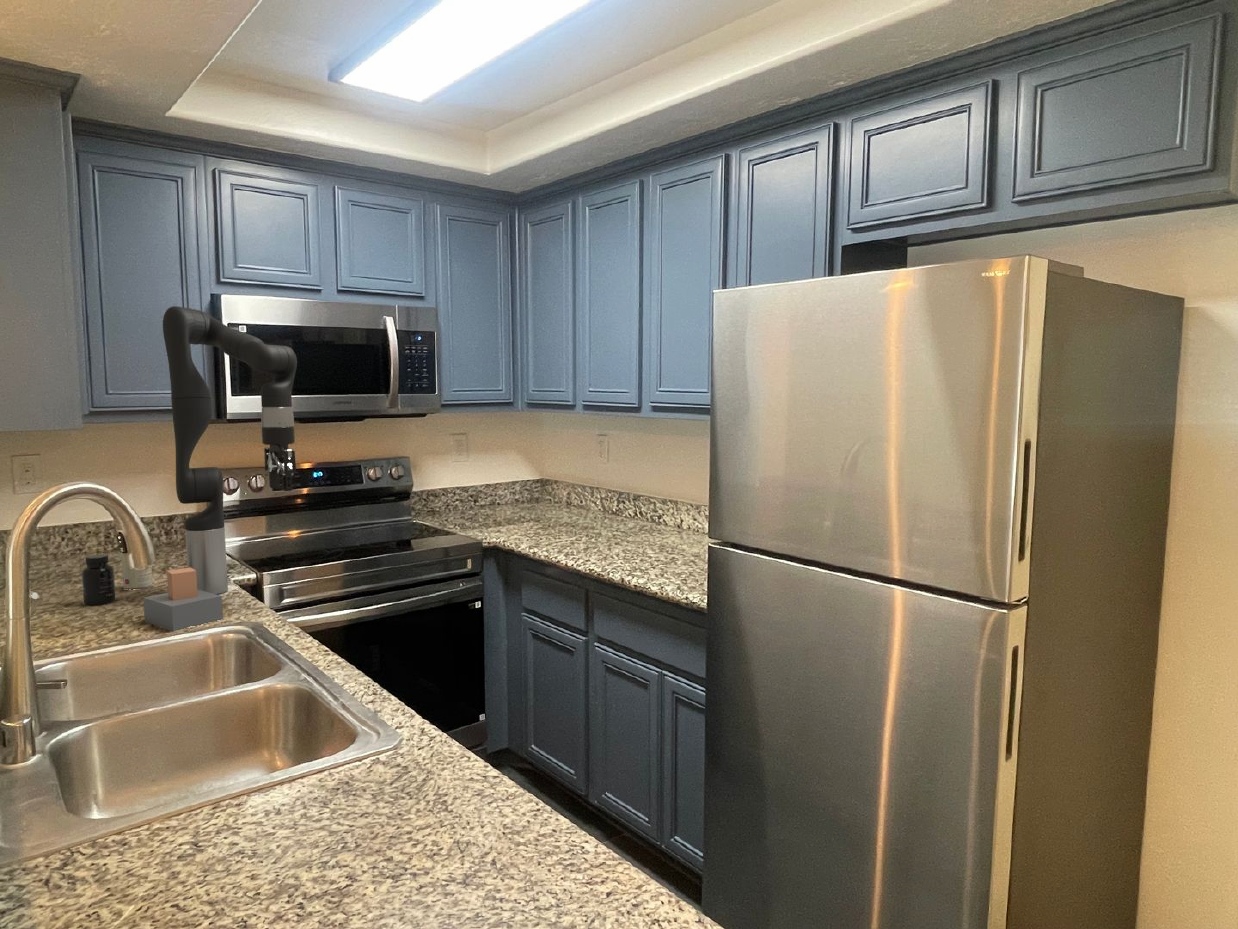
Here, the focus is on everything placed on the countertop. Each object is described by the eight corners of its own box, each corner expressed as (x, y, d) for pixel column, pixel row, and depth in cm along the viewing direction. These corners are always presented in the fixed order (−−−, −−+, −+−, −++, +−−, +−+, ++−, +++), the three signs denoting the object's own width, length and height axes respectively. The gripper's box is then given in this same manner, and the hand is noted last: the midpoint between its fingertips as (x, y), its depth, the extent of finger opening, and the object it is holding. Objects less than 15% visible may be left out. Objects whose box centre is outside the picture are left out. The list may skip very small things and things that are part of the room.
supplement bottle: (77, 605, 200) (73, 558, 199) (101, 598, 207) (98, 553, 206) (97, 607, 198) (94, 559, 197) (122, 600, 205) (119, 554, 204)
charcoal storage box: (144, 623, 185) (143, 597, 184) (193, 612, 193) (191, 588, 193) (173, 633, 176) (171, 606, 176) (222, 621, 185) (221, 595, 185)
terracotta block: (168, 596, 185) (166, 570, 184) (192, 592, 188) (190, 567, 188) (173, 600, 181) (171, 574, 181) (197, 596, 184) (196, 570, 184)
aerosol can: (139, 584, 222) (134, 513, 221) (158, 585, 220) (154, 514, 219) (117, 590, 216) (112, 517, 214) (137, 591, 214) (132, 517, 212)
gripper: (252, 425, 203) (255, 488, 204) (273, 426, 193) (276, 493, 194) (282, 424, 208) (285, 486, 209) (304, 425, 198) (307, 490, 199)
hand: (281, 489), depth 202 cm, fingers open, 8 cm apart
